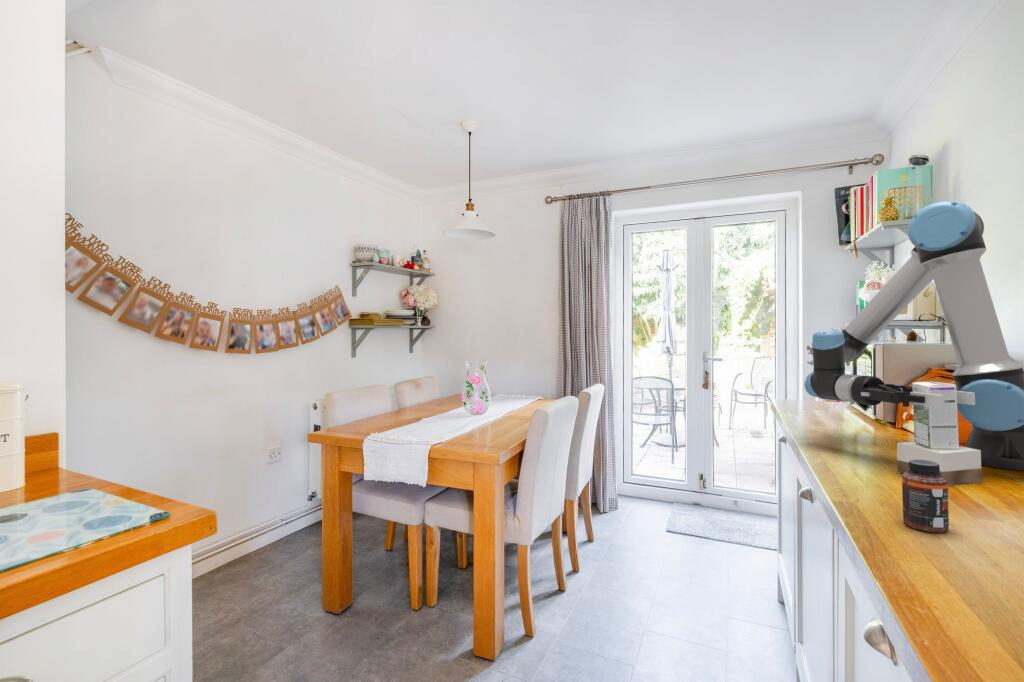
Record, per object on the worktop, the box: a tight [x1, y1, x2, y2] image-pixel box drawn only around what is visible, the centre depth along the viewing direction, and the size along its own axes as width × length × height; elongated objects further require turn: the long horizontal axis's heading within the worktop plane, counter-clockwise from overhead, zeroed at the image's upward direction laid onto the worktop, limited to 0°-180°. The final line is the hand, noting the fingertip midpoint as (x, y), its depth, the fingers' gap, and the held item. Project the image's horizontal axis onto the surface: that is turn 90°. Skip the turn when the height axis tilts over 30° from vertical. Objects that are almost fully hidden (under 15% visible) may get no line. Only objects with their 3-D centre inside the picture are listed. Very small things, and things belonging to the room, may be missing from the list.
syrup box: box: [911, 381, 960, 449], centre depth 105 cm, size 6×6×14 cm
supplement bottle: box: [901, 460, 950, 534], centre depth 80 cm, size 6×6×11 cm
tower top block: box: [896, 441, 982, 472], centre depth 106 cm, size 10×10×4 cm
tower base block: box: [897, 460, 983, 486], centre depth 106 cm, size 10×10×4 cm
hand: (958, 400), depth 101 cm, fingers open, 8 cm apart
